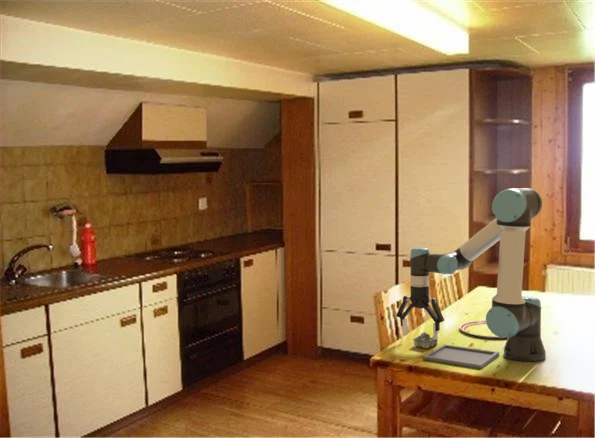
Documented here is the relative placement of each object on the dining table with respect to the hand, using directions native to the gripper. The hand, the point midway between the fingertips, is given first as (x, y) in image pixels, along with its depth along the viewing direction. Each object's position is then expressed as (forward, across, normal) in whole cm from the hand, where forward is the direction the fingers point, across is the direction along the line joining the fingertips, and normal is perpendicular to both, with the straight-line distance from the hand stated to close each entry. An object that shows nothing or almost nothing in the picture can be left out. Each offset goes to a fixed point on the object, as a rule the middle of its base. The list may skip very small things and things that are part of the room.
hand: (419, 336), depth 256 cm
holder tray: (+4, -21, +8) cm, 22 cm away
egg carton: (+5, 0, 0) cm, 5 cm away
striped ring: (+4, -18, -35) cm, 40 cm away
